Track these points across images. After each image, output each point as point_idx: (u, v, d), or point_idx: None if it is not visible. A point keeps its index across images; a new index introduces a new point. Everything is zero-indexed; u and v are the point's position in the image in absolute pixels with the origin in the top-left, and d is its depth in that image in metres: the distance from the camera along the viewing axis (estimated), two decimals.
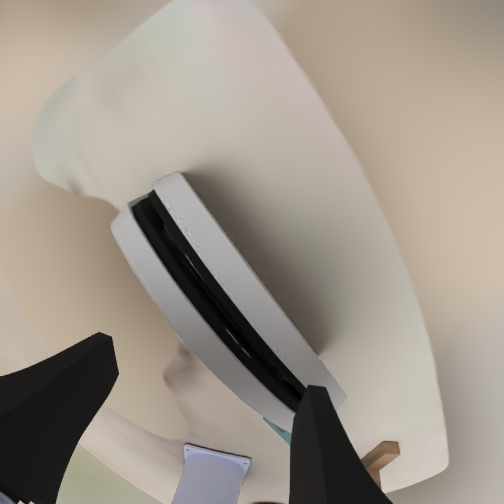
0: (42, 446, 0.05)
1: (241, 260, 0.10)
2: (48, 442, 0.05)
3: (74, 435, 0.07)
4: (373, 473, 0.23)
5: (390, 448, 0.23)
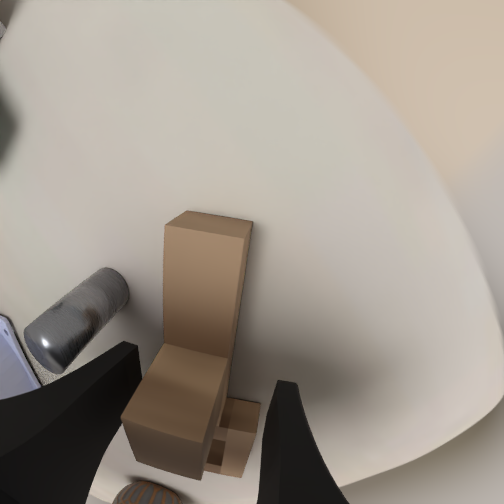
0: (70, 464, 0.05)
1: None
2: (76, 459, 0.05)
3: (100, 448, 0.07)
4: (196, 361, 0.08)
5: (201, 222, 0.08)
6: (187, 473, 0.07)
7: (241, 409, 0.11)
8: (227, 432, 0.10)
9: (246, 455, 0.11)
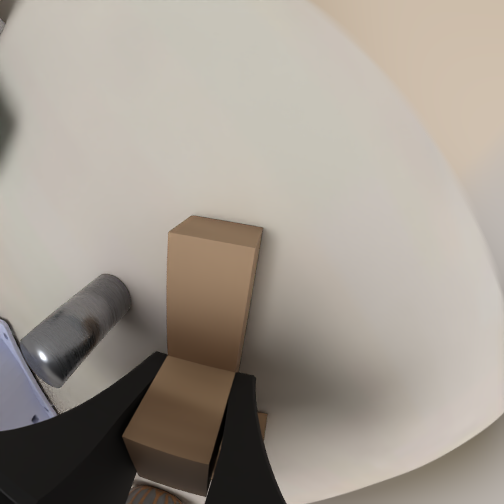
0: (110, 485, 0.05)
1: None
2: (115, 479, 0.05)
3: None
4: (201, 376, 0.08)
5: (208, 229, 0.08)
6: (191, 489, 0.06)
7: None
8: None
9: None
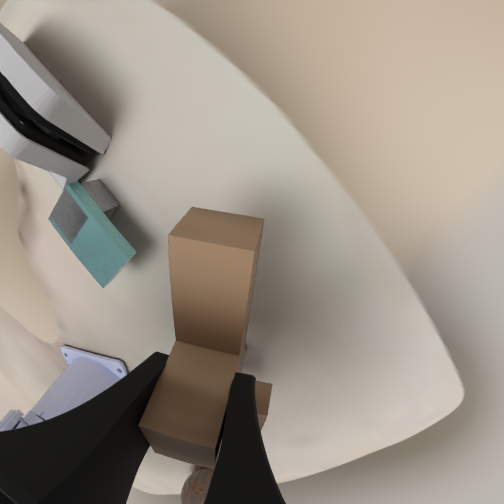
0: (110, 485, 0.05)
1: None
2: (115, 479, 0.05)
3: (135, 463, 0.07)
4: (208, 361, 0.09)
5: (208, 226, 0.08)
6: (201, 463, 0.08)
7: None
8: None
9: None
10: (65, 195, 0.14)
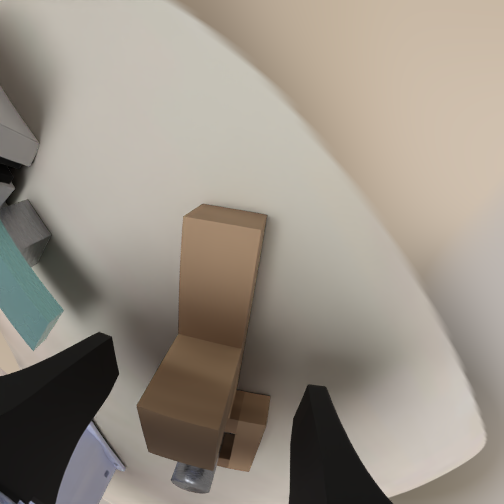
0: (42, 446, 0.05)
1: None
2: (48, 442, 0.05)
3: (74, 434, 0.07)
4: (210, 352, 0.09)
5: (218, 214, 0.09)
6: (199, 463, 0.07)
7: (251, 401, 0.12)
8: (237, 424, 0.11)
9: (255, 448, 0.11)
10: None
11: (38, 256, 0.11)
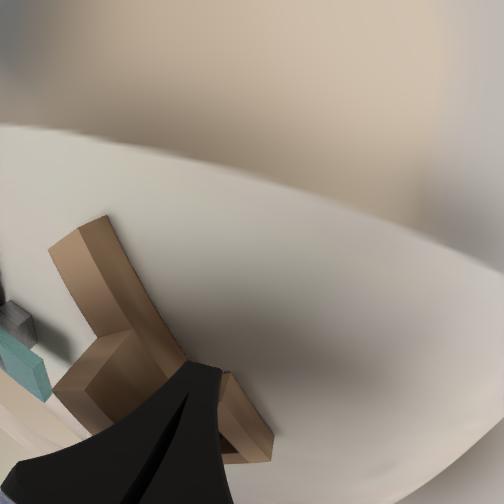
0: None
1: None
2: None
3: None
4: (110, 340, 0.09)
5: None
6: None
7: None
8: None
9: (243, 431, 0.11)
10: None
11: (33, 335, 0.14)
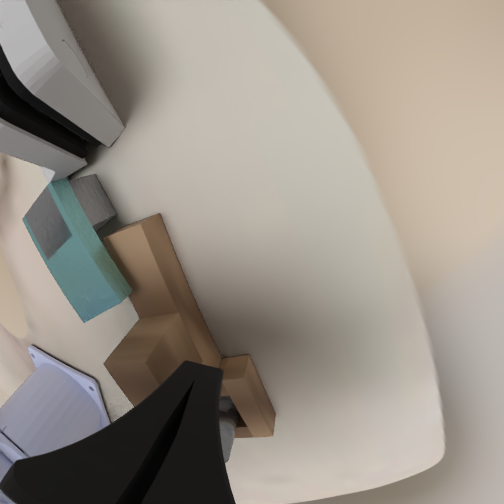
0: None
1: None
2: None
3: None
4: (156, 321, 0.12)
5: (125, 227, 0.12)
6: None
7: (233, 363, 0.14)
8: (223, 384, 0.13)
9: (255, 406, 0.14)
10: (45, 196, 0.09)
11: (95, 230, 0.13)
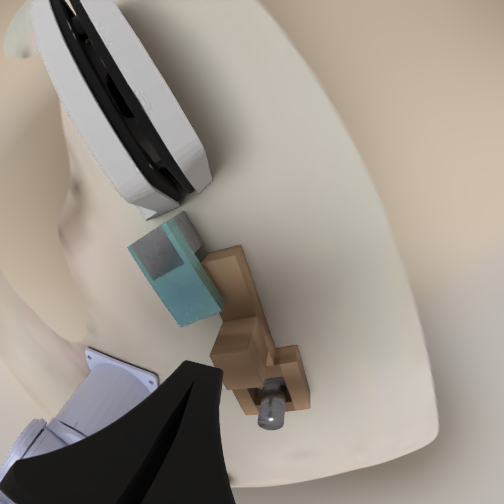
0: None
1: None
2: None
3: None
4: (240, 323, 0.17)
5: (216, 255, 0.17)
6: (253, 382, 0.15)
7: (285, 352, 0.20)
8: (280, 367, 0.19)
9: (301, 383, 0.19)
10: (158, 233, 0.15)
11: None
